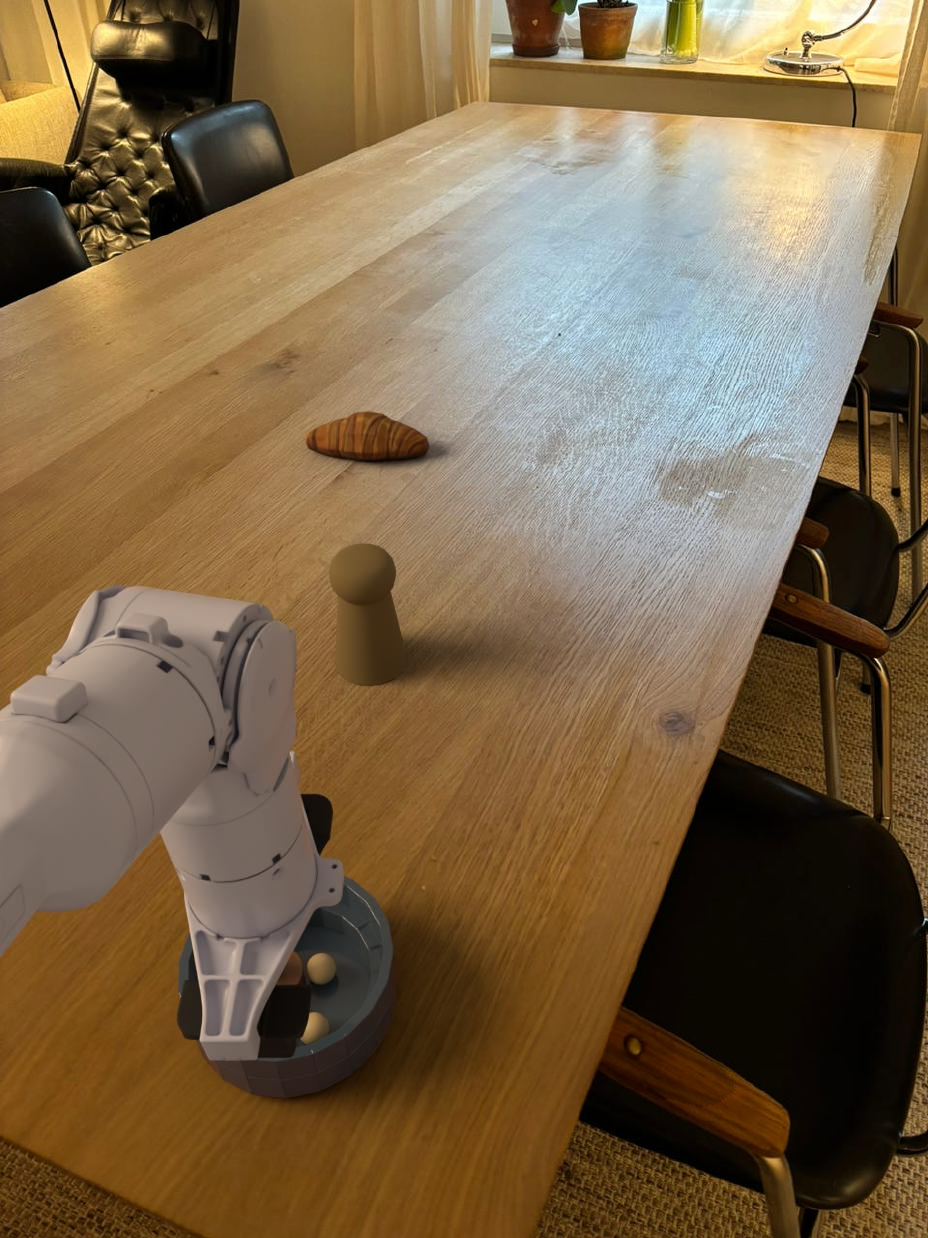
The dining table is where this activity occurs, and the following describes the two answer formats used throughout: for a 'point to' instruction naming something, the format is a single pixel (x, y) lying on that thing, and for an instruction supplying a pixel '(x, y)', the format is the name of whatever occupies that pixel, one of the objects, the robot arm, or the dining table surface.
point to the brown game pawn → (366, 616)
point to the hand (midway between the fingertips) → (283, 975)
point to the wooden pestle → (292, 972)
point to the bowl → (327, 1000)
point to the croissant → (367, 438)
